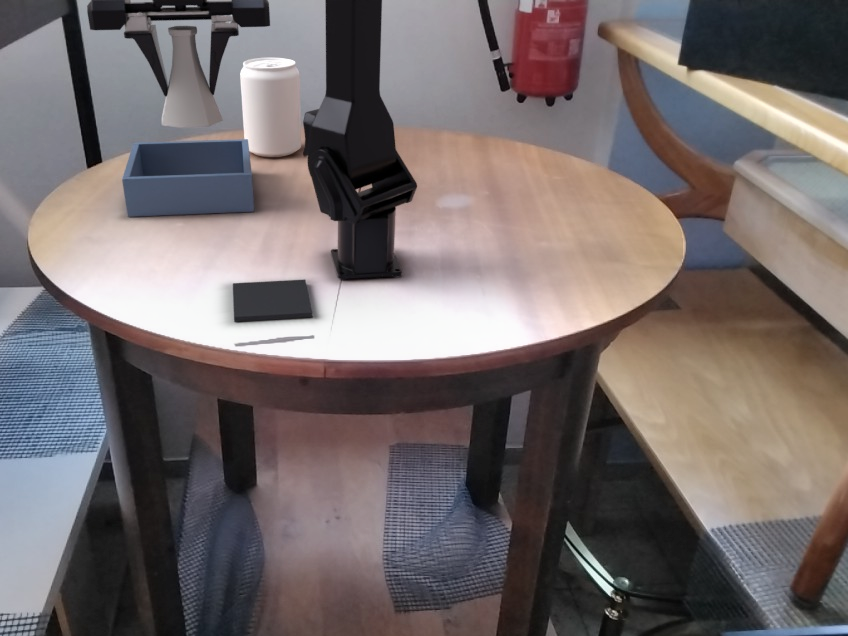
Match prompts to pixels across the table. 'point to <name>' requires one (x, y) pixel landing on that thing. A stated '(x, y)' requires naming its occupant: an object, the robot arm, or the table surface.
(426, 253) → the table surface
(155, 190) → the tote
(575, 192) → the table surface
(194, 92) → the flask
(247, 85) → the beverage can
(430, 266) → the table surface
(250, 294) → the coaster
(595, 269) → the table surface
